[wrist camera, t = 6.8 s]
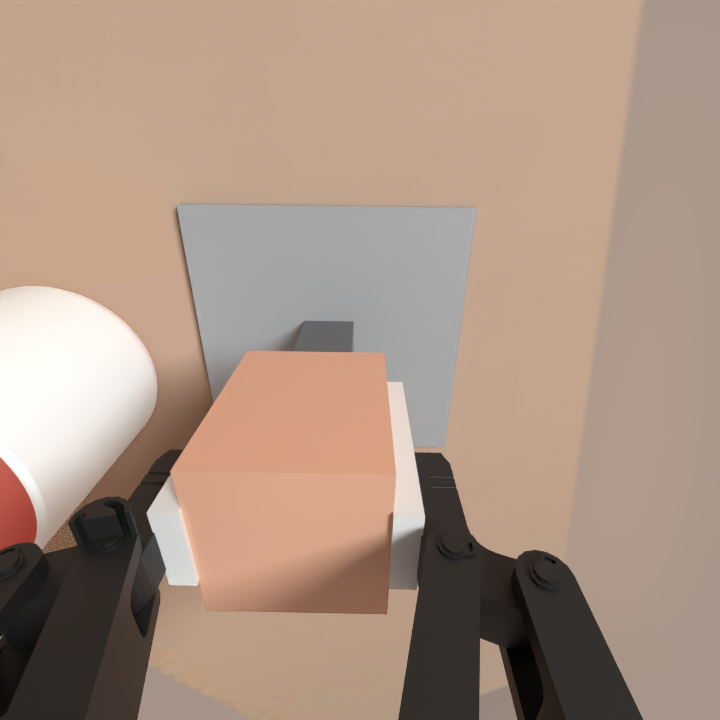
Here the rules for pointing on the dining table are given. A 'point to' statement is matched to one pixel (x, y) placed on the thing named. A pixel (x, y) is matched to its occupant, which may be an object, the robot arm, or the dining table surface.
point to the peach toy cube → (293, 486)
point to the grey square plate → (335, 290)
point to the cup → (63, 405)
